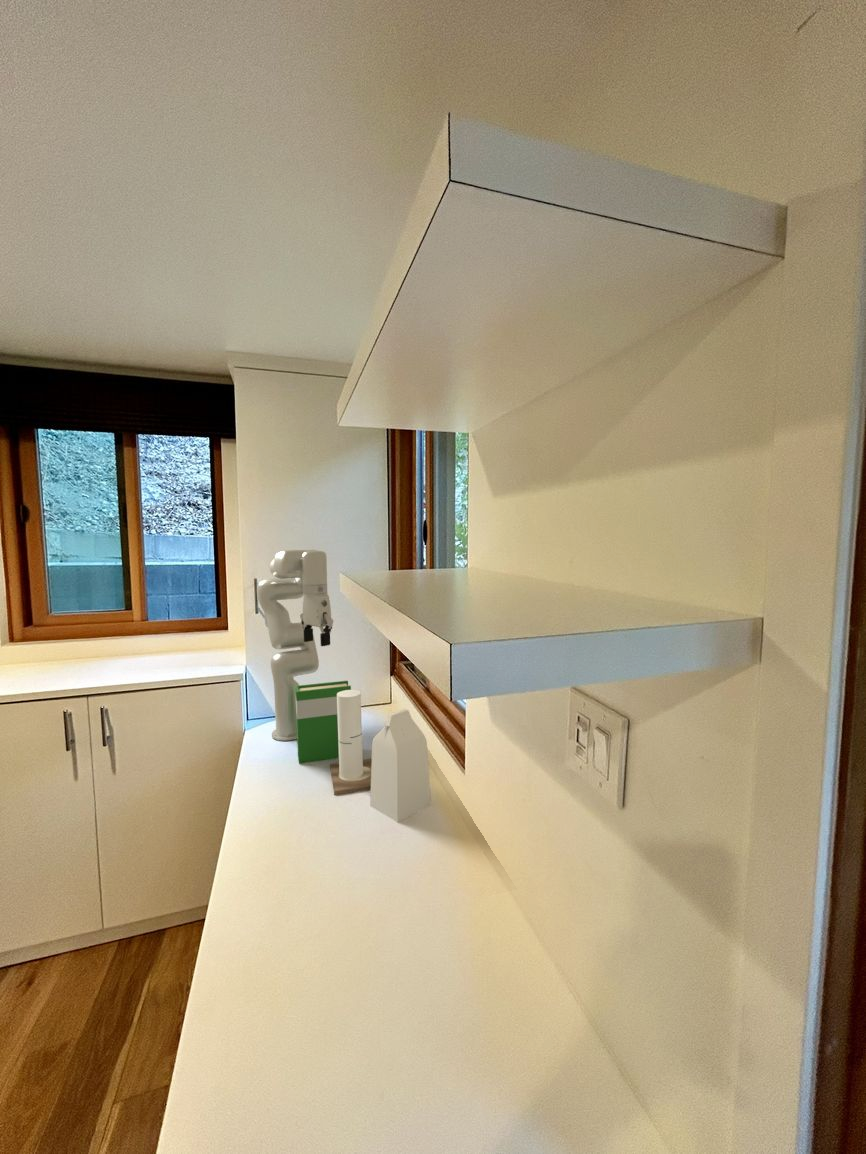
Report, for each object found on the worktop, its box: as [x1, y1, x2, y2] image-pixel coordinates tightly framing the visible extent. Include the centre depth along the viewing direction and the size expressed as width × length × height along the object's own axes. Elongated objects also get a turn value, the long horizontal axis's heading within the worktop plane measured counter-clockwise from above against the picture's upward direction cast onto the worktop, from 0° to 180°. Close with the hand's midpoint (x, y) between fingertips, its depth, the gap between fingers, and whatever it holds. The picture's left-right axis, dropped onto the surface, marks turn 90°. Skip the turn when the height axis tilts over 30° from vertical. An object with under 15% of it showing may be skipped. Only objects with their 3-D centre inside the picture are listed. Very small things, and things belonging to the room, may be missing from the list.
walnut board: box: [329, 758, 372, 796], centre depth 152 cm, size 18×14×1 cm
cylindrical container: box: [337, 689, 364, 779], centre depth 150 cm, size 7×7×25 cm
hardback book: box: [295, 680, 352, 765], centre depth 167 cm, size 18×7×24 cm, turn 108°
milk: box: [369, 708, 432, 823], centre depth 134 cm, size 12×12×26 cm
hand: (316, 643), depth 157 cm, fingers open, 9 cm apart
